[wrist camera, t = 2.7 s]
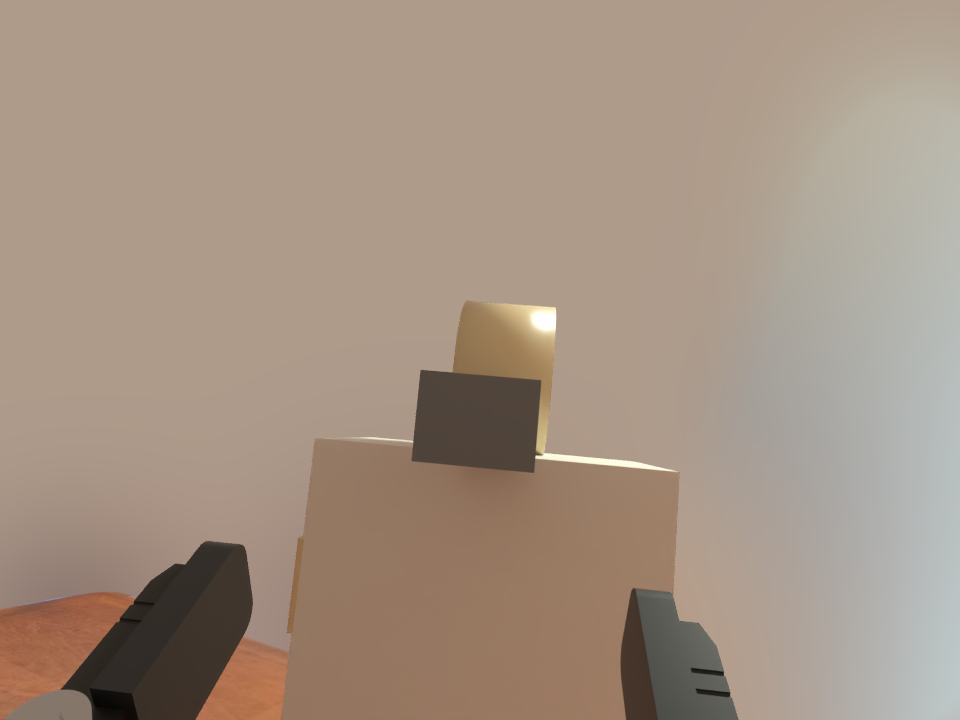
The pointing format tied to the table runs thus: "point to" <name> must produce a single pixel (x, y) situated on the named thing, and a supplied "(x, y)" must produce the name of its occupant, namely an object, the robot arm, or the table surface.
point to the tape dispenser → (490, 391)
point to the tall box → (470, 584)
